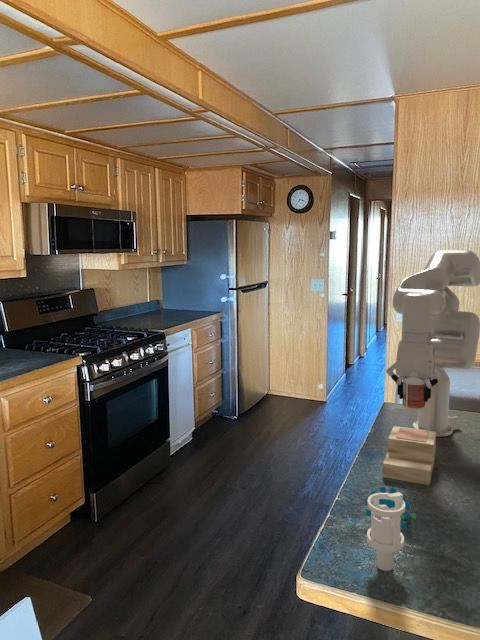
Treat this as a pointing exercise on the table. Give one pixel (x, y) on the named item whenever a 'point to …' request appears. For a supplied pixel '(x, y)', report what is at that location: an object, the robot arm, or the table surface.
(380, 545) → the white flanged pipe fitting
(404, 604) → the table surface
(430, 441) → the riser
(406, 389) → the pill bottle
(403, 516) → the gear
